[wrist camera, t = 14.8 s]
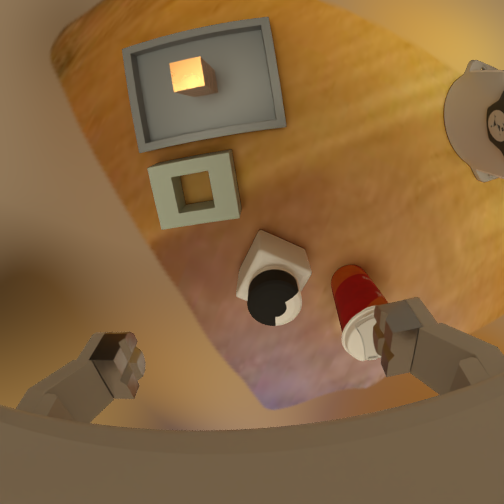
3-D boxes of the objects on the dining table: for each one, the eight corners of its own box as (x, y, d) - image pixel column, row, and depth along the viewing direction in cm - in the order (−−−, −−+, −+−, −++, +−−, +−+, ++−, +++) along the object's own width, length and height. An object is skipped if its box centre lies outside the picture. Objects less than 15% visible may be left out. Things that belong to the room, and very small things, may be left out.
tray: (267, 23, 33) (268, 16, 30) (284, 126, 38) (286, 126, 35) (130, 52, 34) (122, 49, 31) (147, 150, 40) (139, 153, 37)
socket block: (231, 149, 40) (228, 152, 36) (241, 208, 43) (239, 218, 39) (157, 163, 40) (147, 168, 37) (169, 219, 44) (161, 229, 40)
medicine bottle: (238, 271, 47) (231, 320, 36) (259, 228, 44) (259, 268, 33) (282, 289, 48) (288, 341, 37) (306, 248, 45) (319, 293, 34)
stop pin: (214, 70, 35) (200, 56, 26) (218, 92, 36) (204, 85, 27) (190, 75, 35) (169, 63, 26) (194, 97, 36) (173, 92, 27)
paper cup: (371, 300, 48) (400, 359, 35) (323, 305, 49) (341, 368, 36) (374, 254, 45) (411, 307, 32) (323, 259, 45) (345, 316, 33)
